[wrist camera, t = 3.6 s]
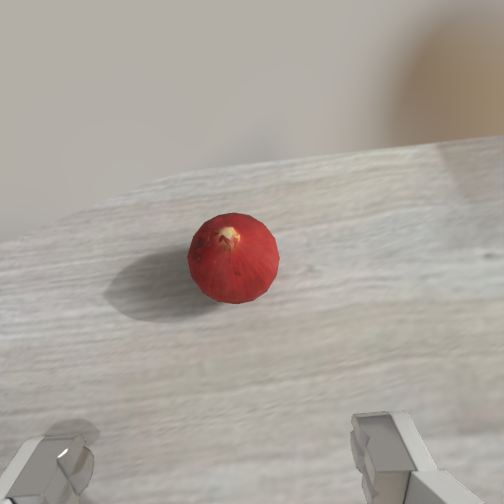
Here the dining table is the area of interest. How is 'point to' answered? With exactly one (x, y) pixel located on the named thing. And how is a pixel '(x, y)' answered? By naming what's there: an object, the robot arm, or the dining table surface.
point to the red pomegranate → (233, 258)
